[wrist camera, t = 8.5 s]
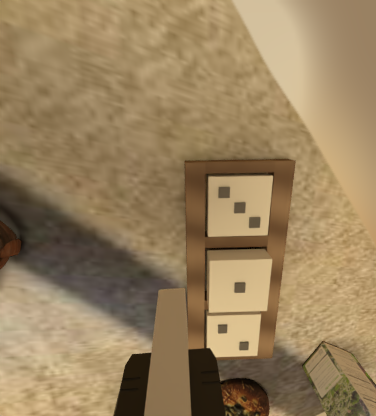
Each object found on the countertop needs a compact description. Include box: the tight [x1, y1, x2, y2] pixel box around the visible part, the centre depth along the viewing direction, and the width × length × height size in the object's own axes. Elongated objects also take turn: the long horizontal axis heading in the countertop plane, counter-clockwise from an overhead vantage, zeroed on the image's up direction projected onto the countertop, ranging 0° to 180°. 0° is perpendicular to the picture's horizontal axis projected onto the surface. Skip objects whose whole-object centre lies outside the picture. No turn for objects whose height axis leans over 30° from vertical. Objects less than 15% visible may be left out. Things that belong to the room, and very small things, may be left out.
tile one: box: [207, 249, 272, 313], centre depth 28 cm, size 7×7×3 cm
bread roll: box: [221, 379, 270, 416], centre depth 38 cm, size 11×11×5 cm
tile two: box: [205, 310, 261, 357], centre depth 32 cm, size 7×7×3 cm
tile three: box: [206, 172, 273, 237], centre depth 27 cm, size 7×7×3 cm
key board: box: [185, 159, 295, 360], centre depth 30 cm, size 28×12×2 cm, turn 1°
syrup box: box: [303, 342, 376, 416], centre depth 30 cm, size 6×6×14 cm
